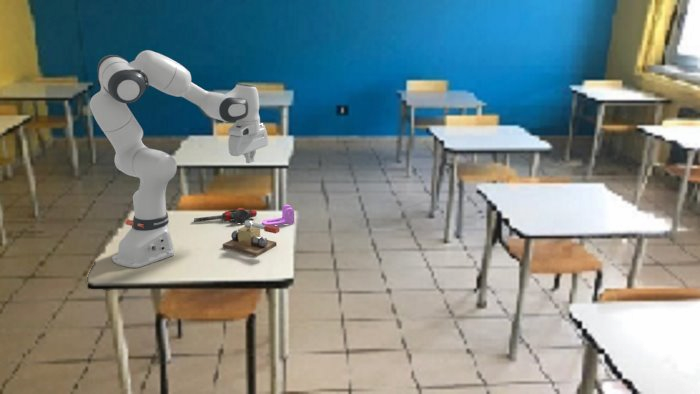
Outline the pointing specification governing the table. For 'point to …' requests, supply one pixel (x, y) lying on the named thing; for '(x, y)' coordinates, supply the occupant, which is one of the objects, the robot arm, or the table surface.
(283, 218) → the bracket
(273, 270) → the table surface
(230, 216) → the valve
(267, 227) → the valve lever
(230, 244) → the walnut board
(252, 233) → the ball valve
